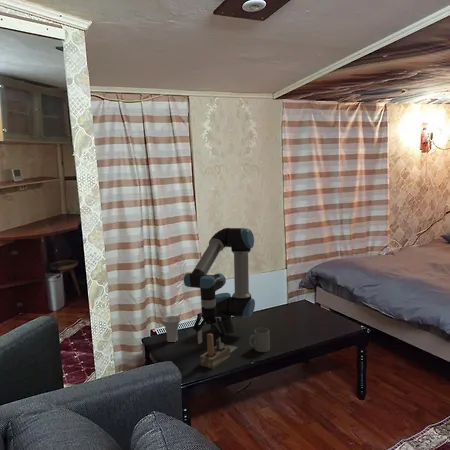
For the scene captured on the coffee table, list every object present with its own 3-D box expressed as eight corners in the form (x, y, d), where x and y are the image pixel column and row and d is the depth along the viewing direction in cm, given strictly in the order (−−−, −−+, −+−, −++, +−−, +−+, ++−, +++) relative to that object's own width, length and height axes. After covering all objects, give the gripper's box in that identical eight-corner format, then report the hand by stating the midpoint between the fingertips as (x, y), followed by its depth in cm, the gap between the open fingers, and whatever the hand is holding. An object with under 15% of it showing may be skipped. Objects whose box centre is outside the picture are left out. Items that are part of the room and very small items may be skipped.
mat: (213, 351, 230) (213, 350, 230) (223, 344, 239) (223, 343, 239) (228, 354, 225) (228, 354, 225) (237, 347, 233) (237, 347, 233)
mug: (265, 344, 236) (264, 326, 234) (272, 350, 228) (272, 331, 226) (246, 349, 231) (245, 330, 230) (253, 355, 224) (252, 335, 222)
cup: (184, 338, 250) (182, 316, 248) (177, 345, 240) (176, 323, 238) (167, 336, 253) (166, 315, 251) (160, 343, 243) (159, 321, 241)
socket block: (200, 365, 214) (199, 347, 213) (218, 353, 227) (217, 335, 226) (213, 369, 210) (212, 350, 208) (230, 356, 223) (229, 338, 222)
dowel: (207, 364, 215) (205, 335, 213) (210, 362, 217) (209, 333, 215) (212, 366, 213) (210, 336, 211) (215, 363, 216) (214, 334, 213)
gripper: (184, 304, 215) (187, 343, 218) (224, 312, 201) (226, 353, 204) (193, 300, 221) (196, 338, 224) (233, 307, 207) (234, 347, 210)
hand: (210, 345), depth 214 cm, fingers open, 13 cm apart
